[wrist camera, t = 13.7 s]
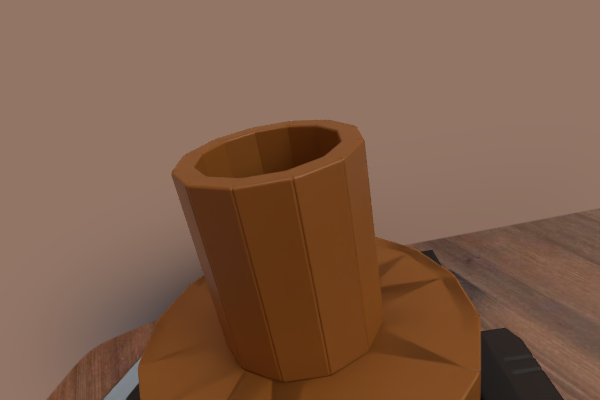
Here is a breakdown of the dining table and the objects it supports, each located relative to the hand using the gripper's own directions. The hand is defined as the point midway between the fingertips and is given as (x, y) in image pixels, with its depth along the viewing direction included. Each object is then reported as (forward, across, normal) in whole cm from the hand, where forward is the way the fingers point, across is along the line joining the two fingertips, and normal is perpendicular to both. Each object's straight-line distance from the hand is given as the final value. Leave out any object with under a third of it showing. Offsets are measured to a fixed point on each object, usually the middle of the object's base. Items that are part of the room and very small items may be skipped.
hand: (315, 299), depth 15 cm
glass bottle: (-5, 0, -10) cm, 12 cm away
